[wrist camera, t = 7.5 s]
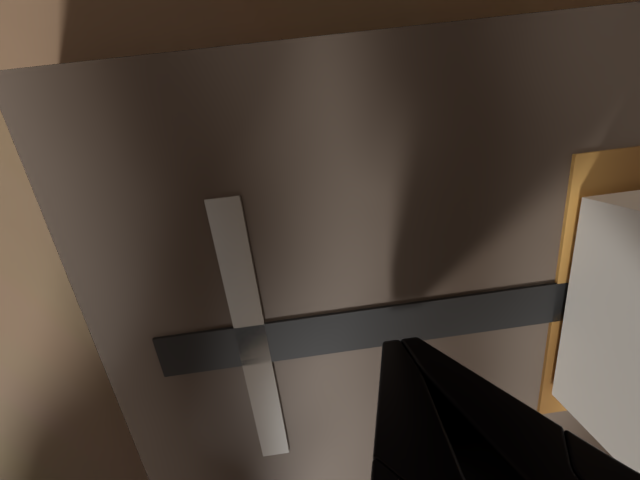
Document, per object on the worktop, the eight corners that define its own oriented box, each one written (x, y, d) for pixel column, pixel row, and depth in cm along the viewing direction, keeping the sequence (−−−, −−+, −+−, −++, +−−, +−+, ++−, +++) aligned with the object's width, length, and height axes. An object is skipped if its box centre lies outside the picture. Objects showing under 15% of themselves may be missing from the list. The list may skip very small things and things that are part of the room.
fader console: (189, 475, 13) (170, 538, 11) (55, 84, 8) (-20, 71, 6) (629, 408, 13) (687, 456, 12) (731, 10, 9) (857, -24, 7)
